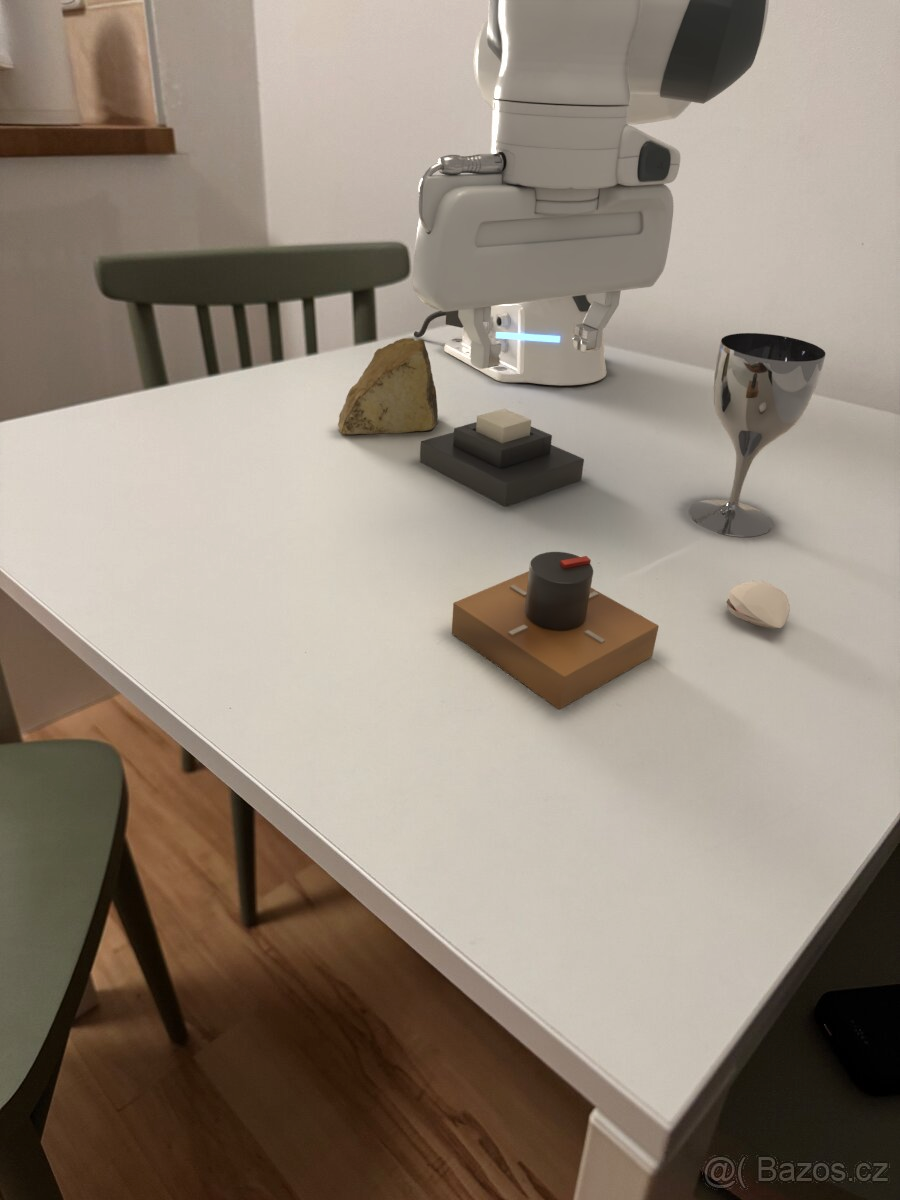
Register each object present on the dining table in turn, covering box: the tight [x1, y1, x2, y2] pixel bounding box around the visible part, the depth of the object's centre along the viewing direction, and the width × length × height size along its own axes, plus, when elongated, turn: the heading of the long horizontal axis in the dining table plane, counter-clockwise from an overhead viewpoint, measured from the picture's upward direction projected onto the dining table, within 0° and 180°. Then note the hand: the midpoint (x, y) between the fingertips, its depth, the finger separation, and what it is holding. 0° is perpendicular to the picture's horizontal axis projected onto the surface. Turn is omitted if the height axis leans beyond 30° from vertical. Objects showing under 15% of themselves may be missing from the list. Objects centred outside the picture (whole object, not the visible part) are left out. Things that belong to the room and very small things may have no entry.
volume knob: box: [525, 551, 594, 630], centre depth 54 cm, size 4×4×4 cm
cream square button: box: [476, 408, 532, 444], centre depth 78 cm, size 4×4×2 cm
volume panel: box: [451, 570, 659, 710], centre depth 55 cm, size 10×9×3 cm
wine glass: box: [688, 332, 826, 538], centre depth 70 cm, size 8×8×15 cm
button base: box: [419, 421, 585, 507], centre depth 79 cm, size 12×10×4 cm
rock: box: [337, 337, 439, 435], centre depth 87 cm, size 11×9×10 cm
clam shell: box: [726, 580, 791, 629], centre depth 59 cm, size 4×5×2 cm
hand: (536, 357), depth 64 cm, fingers open, 8 cm apart
